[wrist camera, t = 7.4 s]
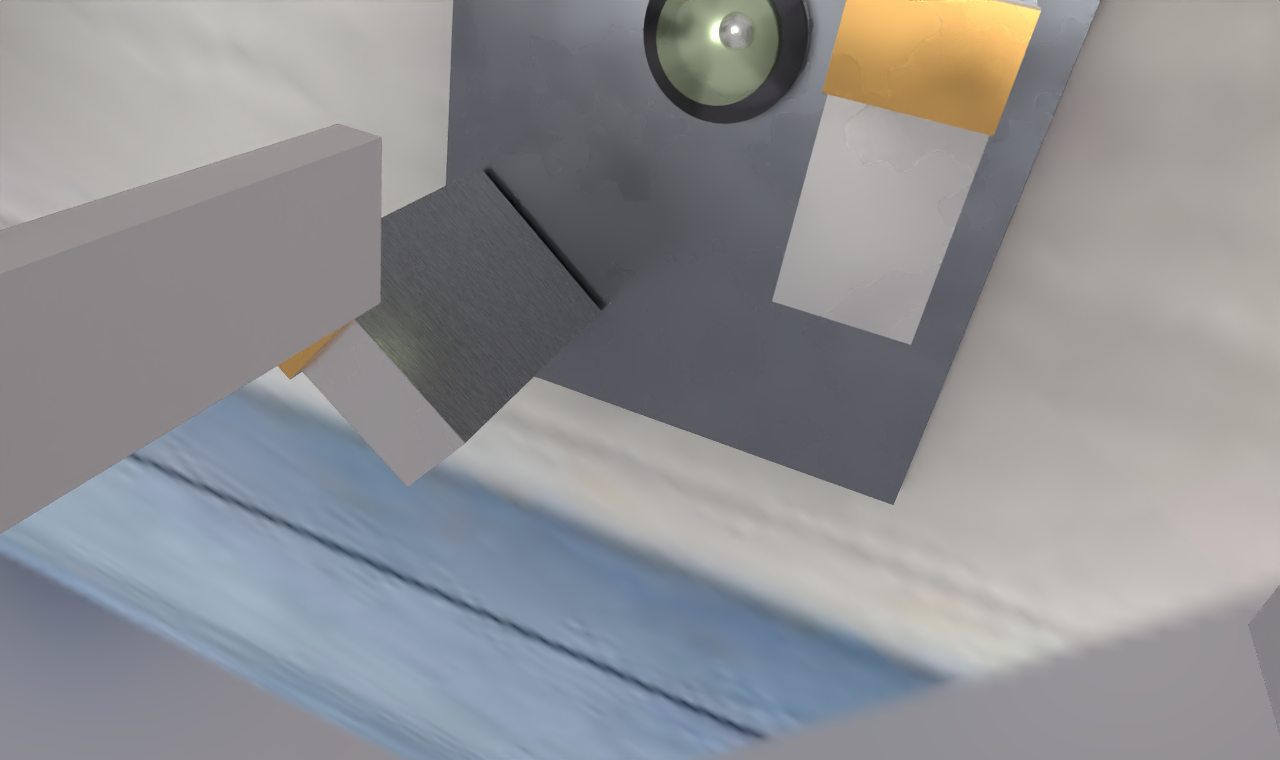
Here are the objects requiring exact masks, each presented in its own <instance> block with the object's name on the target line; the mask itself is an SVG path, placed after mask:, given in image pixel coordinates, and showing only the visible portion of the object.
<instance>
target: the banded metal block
mask: <svg viewBox="0 0 1280 760" xmlns="http://www.w3.org/2000/svg"><path fill="white" fill-rule="evenodd" d="M1040 12H1041V7H1038V4H1037V0H846V3H845V7H844V11H843V15H842V19H841V22H840V26H839V30H838V34H837V37H836V41H835V45H834V49H833V53H832V56H831V60H830V64H829V68H828V71H827V75H826V79H825V83H824V87H823V90H822V93H824V94H828V95H827V99H826V102H825V106H824V110H823V114H822V117H821V121H820V125H819V128H818V132H817V136H816V140H815V143H814V147H813V151H812V155H811V158H810V162H809V166H808V169H807V173H806V177H805V181H804V184H803V188H802V192H801V196H800V199H799V203H798V207H797V210H796V214H795V218H794V222H793V225H792V229H791V233H790V236H789V240H788V244H787V248H786V251H785V255H784V259H783V263H782V266H781V270H780V274H779V277H778V281H777V285H776V289H775V292H774V296H773V300H772V301H773V302H776V303H779V304H782V305H786V306H789V307H792V308H795V309H798V310H802V311H805V312H808V313H811V314H814V315H817V316H821V317H824V318H827V319H830V320H833V321H837V322H840V323H843V324H846V325H849V326H853V327H856V328H859V329H862V330H865V331H868V332H872V333H875V334H878V335H881V336H884V337H888V338H891V339H894V340H897V341H900V342H903V343H907V344H910V345H911V343H912V341H913V338H914V335H915V333H916V330H917V327H918V325H919V322H920V319H921V317H922V314H923V311H924V309H925V306H926V303H927V301H928V298H929V295H930V293H931V290H932V287H933V285H934V282H935V279H936V277H937V274H938V271H939V269H940V266H941V263H942V261H943V258H944V255H945V253H946V250H947V247H948V245H949V242H950V239H951V237H952V234H953V231H954V229H955V226H956V223H957V221H958V218H959V216H960V213H961V210H962V208H963V205H964V202H965V200H966V197H967V194H968V192H969V189H970V186H971V184H972V181H973V178H974V176H975V173H976V170H977V168H978V165H979V162H980V160H981V157H982V154H983V152H984V149H985V146H986V144H987V141H988V138H989V136H990V135H991V136H994V134H995V131H996V128H997V126H998V123H999V120H1000V118H1001V115H1002V113H1003V110H1004V107H1005V105H1006V102H1007V99H1008V97H1009V94H1010V91H1011V89H1012V86H1013V83H1014V81H1015V78H1016V76H1017V73H1018V70H1019V68H1020V65H1021V62H1022V60H1023V57H1024V54H1025V52H1026V49H1027V46H1028V44H1029V41H1030V39H1031V36H1032V33H1033V31H1034V28H1035V25H1036V23H1037V20H1038V17H1039V15H1040Z"/></svg>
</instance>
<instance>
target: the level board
mask: <svg viewBox="0 0 1280 760" xmlns="http://www.w3.org/2000/svg"><path fill="white" fill-rule="evenodd" d="M845 3H846V0H453V24H452V49H451V74H450V100H449V125H448V150H447V176H446V186H447V185H449V184H451V183H453V182H455V181H457V180H459V179H461V178H463V177H465V176H467V175H469V174H471V173H473V172H476V171H478V170H480V169H482V170H483V171H484V173H485V174H486V175H487V176H488V177H489V178H490V180H491V181H492V182H493V183H494V184H495V186H496V187H497V188H498V189H499V190H500V192H501V193H502V194H503V195H504V196H505V197H506V199H507V200H508V201H509V202H510V203H511V205H512V206H513V207H514V208H515V209H516V211H517V212H518V213H519V214H520V215H521V216H522V218H523V219H524V220H525V221H526V222H527V224H528V225H529V226H530V227H531V228H532V230H533V231H534V232H535V233H536V234H537V235H538V237H539V238H540V239H541V240H542V241H543V243H544V244H545V245H546V246H547V247H548V249H549V250H550V251H551V252H552V253H553V254H554V256H555V257H556V258H557V259H558V260H559V262H560V263H561V264H562V265H563V266H564V267H565V269H566V270H567V271H568V272H569V273H570V275H571V276H572V277H573V278H574V279H575V281H576V282H577V283H578V284H579V285H580V286H581V288H582V289H583V290H584V291H585V292H586V294H587V295H588V296H589V297H590V298H591V300H592V301H593V302H594V303H595V304H596V305H597V307H598V308H599V309H600V310H601V312H600V313H599V314H598V315H597V316H596V317H595V318H594V319H593V320H592V321H591V322H590V323H589V324H588V325H587V326H586V327H585V328H584V329H583V330H581V331H580V332H579V333H578V334H577V335H576V336H575V337H574V338H573V339H572V340H571V341H570V342H569V343H568V344H567V345H566V346H565V347H564V348H563V349H562V350H561V351H560V352H559V353H558V354H557V355H556V356H555V357H554V358H553V359H551V360H550V361H549V362H548V363H547V364H546V365H545V366H544V367H543V368H542V369H541V370H540V371H539V372H538V373H537V374H536V375H535V377H538V378H541V379H544V380H547V381H549V382H552V383H555V384H558V385H561V386H563V387H566V388H569V389H572V390H574V391H577V392H580V393H583V394H586V395H588V396H591V397H594V398H597V399H600V400H602V401H605V402H608V403H611V404H613V405H616V406H619V407H622V408H625V409H627V410H630V411H633V412H636V413H639V414H641V415H644V416H647V417H650V418H652V419H655V420H658V421H661V422H664V423H666V424H669V425H672V426H675V427H678V428H680V429H683V430H686V431H689V432H691V433H694V434H697V435H700V436H703V437H705V438H708V439H711V440H714V441H717V442H719V443H722V444H725V445H728V446H730V447H733V448H736V449H739V450H742V451H744V452H747V453H750V454H753V455H756V456H758V457H761V458H764V459H767V460H769V461H772V462H775V463H778V464H781V465H783V466H786V467H789V468H792V469H795V470H797V471H800V472H803V473H806V474H808V475H811V476H814V477H817V478H820V479H822V480H825V481H828V482H831V483H834V484H836V485H839V486H842V487H845V488H847V489H850V490H853V491H856V492H859V493H861V494H864V495H867V496H870V497H873V498H875V499H878V500H881V501H884V502H886V503H889V504H892V505H894V502H895V500H896V497H897V495H898V492H899V490H900V487H901V485H902V483H903V480H904V478H905V475H906V473H907V470H908V468H909V466H910V463H911V461H912V458H913V456H914V453H915V451H916V449H917V446H918V444H919V441H920V439H921V436H922V434H923V431H924V429H925V427H926V424H927V422H928V419H929V417H930V414H931V412H932V410H933V407H934V405H935V402H936V400H937V397H938V395H939V392H940V390H941V388H942V385H943V383H944V380H945V378H946V375H947V373H948V371H949V368H950V366H951V363H952V361H953V358H954V356H955V353H956V351H957V349H958V346H959V344H960V341H961V339H962V336H963V334H964V332H965V329H966V327H967V324H968V322H969V319H970V317H971V314H972V312H973V310H974V307H975V305H976V302H977V300H978V297H979V295H980V293H981V290H982V288H983V285H984V283H985V280H986V278H987V275H988V273H989V271H990V268H991V266H992V263H993V261H994V258H995V256H996V254H997V251H998V249H999V246H1000V244H1001V241H1002V239H1003V236H1004V234H1005V232H1006V229H1007V227H1008V224H1009V222H1010V219H1011V217H1012V215H1013V212H1014V210H1015V207H1016V205H1017V202H1018V200H1019V197H1020V195H1021V193H1022V190H1023V188H1024V185H1025V183H1026V180H1027V178H1028V176H1029V173H1030V171H1031V168H1032V166H1033V163H1034V161H1035V158H1036V156H1037V154H1038V151H1039V149H1040V146H1041V144H1042V141H1043V139H1044V137H1045V134H1046V132H1047V129H1048V127H1049V124H1050V122H1051V119H1052V117H1053V115H1054V112H1055V110H1056V107H1057V105H1058V102H1059V100H1060V98H1061V95H1062V93H1063V90H1064V88H1065V85H1066V83H1067V81H1068V78H1069V76H1070V73H1071V71H1072V68H1073V66H1074V63H1075V61H1076V59H1077V56H1078V54H1079V51H1080V49H1081V46H1082V44H1083V42H1084V39H1085V37H1086V34H1087V32H1088V29H1089V27H1090V24H1091V22H1092V20H1093V17H1094V15H1095V12H1096V10H1097V7H1098V5H1099V3H1100V0H1037V4H1038V7H1041V12H1040V15H1039V17H1038V20H1037V23H1036V25H1035V28H1034V31H1033V33H1032V36H1031V39H1030V41H1029V44H1028V46H1027V49H1026V52H1025V54H1024V57H1023V60H1022V62H1021V65H1020V68H1019V70H1018V73H1017V76H1016V78H1015V81H1014V83H1013V86H1012V89H1011V91H1010V94H1009V97H1008V99H1007V102H1006V105H1005V107H1004V110H1003V113H1002V115H1001V118H1000V120H999V123H998V126H997V128H996V131H995V134H994V136H991V135H990V136H989V138H988V141H987V144H986V146H985V149H984V152H983V154H982V157H981V160H980V162H979V165H978V168H977V170H976V173H975V176H974V178H973V181H972V184H971V186H970V189H969V192H968V194H967V197H966V200H965V202H964V205H963V208H962V210H961V213H960V216H959V218H958V221H957V223H956V226H955V229H954V231H953V234H952V237H951V239H950V242H949V245H948V247H947V250H946V253H945V255H944V258H943V261H942V263H941V266H940V269H939V271H938V274H937V277H936V279H935V282H934V285H933V287H932V290H931V293H930V295H929V298H928V301H927V303H926V306H925V309H924V311H923V314H922V317H921V319H920V322H919V325H918V327H917V330H916V333H915V335H914V338H913V341H912V343H911V345H910V344H907V343H903V342H900V341H897V340H894V339H891V338H888V337H884V336H881V335H878V334H875V333H872V332H868V331H865V330H862V329H859V328H856V327H853V326H849V325H846V324H843V323H840V322H837V321H833V320H830V319H827V318H824V317H821V316H817V315H814V314H811V313H808V312H805V311H802V310H798V309H795V308H792V307H789V306H786V305H782V304H779V303H776V302H773V301H772V300H773V296H774V292H775V289H776V285H777V281H778V277H779V274H780V270H781V266H782V263H783V259H784V255H785V251H786V248H787V244H788V240H789V236H790V233H791V229H792V225H793V222H794V218H795V214H796V210H797V207H798V203H799V199H800V196H801V192H802V188H803V184H804V181H805V177H806V173H807V169H808V166H809V162H810V158H811V155H812V151H813V147H814V143H815V140H816V136H817V132H818V128H819V125H820V121H821V117H822V114H823V110H824V106H825V102H826V99H827V95H828V94H824V93H822V90H823V87H824V83H825V79H826V75H827V71H828V68H829V64H830V60H831V56H832V53H833V49H834V45H835V41H836V37H837V34H838V30H839V26H840V22H841V19H842V15H843V11H844V7H845Z"/></svg>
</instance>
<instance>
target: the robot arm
mask: <svg viewBox="0 0 1280 760" xmlns="http://www.w3.org/2000/svg"><path fill="white" fill-rule="evenodd" d="M381 156H382V138H381V137H378V136H375V135H372V134H369V133H366V132H362V131H359V130H356V129H353V128H350V127H347V126H344V125H340V124H336V125H333V126H330V127H326V128H323V129H320V130H317V131H314V132H311V133H307V134H304V135H301V136H298V137H295V138H292V139H288V140H285V141H282V142H279V143H276V144H273V145H269V146H266V147H263V148H260V149H257V150H254V151H250V152H247V153H244V154H241V155H238V156H235V157H231V158H228V159H225V160H222V161H219V162H216V163H212V164H209V165H206V166H203V167H200V168H197V169H193V170H190V171H187V172H184V173H181V174H178V175H174V176H171V177H168V178H165V179H162V180H159V181H155V182H152V183H149V184H146V185H143V186H140V187H136V188H133V189H130V190H127V191H124V192H121V193H117V194H114V195H111V196H108V197H105V198H102V199H98V200H95V201H92V202H89V203H86V204H83V205H79V206H76V207H73V208H70V209H67V210H64V211H60V212H57V213H54V214H51V215H48V216H45V217H41V218H38V219H35V220H32V221H29V222H26V223H22V224H19V225H16V226H13V227H10V228H7V229H3V230H0V534H1V533H2V532H4V531H6V530H7V529H9V528H11V527H12V526H14V525H16V524H17V523H19V522H21V521H22V520H24V519H26V518H27V517H29V516H30V515H32V514H34V513H35V512H37V511H39V510H40V509H42V508H44V507H45V506H47V505H49V504H50V503H52V502H54V501H55V500H57V499H58V498H60V497H62V496H63V495H65V494H67V493H68V492H70V491H72V490H73V489H75V488H77V487H78V486H80V485H82V484H83V483H85V482H86V481H88V480H90V479H91V478H93V477H95V476H96V475H98V474H100V473H101V472H103V471H105V470H106V469H108V468H110V467H111V466H113V465H114V464H116V463H118V462H119V461H121V460H123V459H124V458H126V457H128V456H129V455H131V454H133V453H134V452H136V451H138V450H139V449H141V448H142V447H144V446H146V445H147V444H149V443H151V442H152V441H154V440H156V439H157V438H159V437H161V436H162V435H164V434H166V433H167V432H169V431H170V430H172V429H174V428H175V427H177V426H179V425H180V424H182V423H184V422H185V421H187V420H189V419H190V418H192V417H194V416H195V415H197V414H198V413H200V412H202V411H203V410H205V409H207V408H208V407H210V406H212V405H213V404H215V403H217V402H218V401H220V400H222V399H223V398H225V397H226V396H228V395H230V394H231V393H233V392H235V391H236V390H238V389H240V388H241V387H243V386H245V385H246V384H248V383H250V382H251V381H253V380H254V379H256V378H258V377H259V376H261V375H263V374H264V373H266V372H268V371H269V370H271V369H273V368H274V367H276V366H278V365H279V364H281V363H282V362H284V361H286V360H287V359H289V358H291V357H292V356H294V355H296V354H297V353H299V352H301V351H302V350H304V349H306V348H307V347H309V346H310V345H312V344H314V343H315V342H317V341H319V340H320V339H322V338H324V337H325V336H327V335H329V334H330V333H332V332H334V331H335V330H337V329H338V328H340V327H342V326H343V325H345V324H347V323H348V322H350V321H352V320H353V319H355V318H357V317H358V316H360V315H362V314H363V313H365V312H366V311H368V310H370V309H371V308H373V307H375V306H376V305H378V304H380V303H381ZM1249 629H1250V632H1251V636H1252V639H1253V643H1254V646H1255V650H1256V653H1257V657H1258V660H1259V664H1260V667H1261V671H1262V674H1263V678H1264V681H1265V685H1266V688H1267V692H1268V695H1269V699H1270V702H1271V706H1272V709H1273V713H1274V716H1275V720H1276V723H1277V727H1278V730H1279V734H1280V585H1279V586H1278V588H1277V589H1276V590H1275V592H1274V593H1273V594H1272V595H1271V597H1270V598H1269V599H1268V600H1267V602H1266V603H1265V604H1264V605H1263V607H1262V608H1261V609H1260V611H1259V612H1258V613H1257V614H1256V616H1255V617H1254V618H1253V620H1252V621H1251V622H1250V623H1249Z"/></svg>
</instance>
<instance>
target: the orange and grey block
mask: <svg viewBox="0 0 1280 760" xmlns="http://www.w3.org/2000/svg"><path fill="white" fill-rule="evenodd" d="M600 312H601V310H600V309H599V308H598V307H597V305H596V304H595V303H594V302H593V301H592V300H591V298H590V297H589V296H588V295H587V294H586V292H585V291H584V290H583V289H582V288H581V286H580V285H579V284H578V283H577V282H576V281H575V279H574V278H573V277H572V276H571V275H570V273H569V272H568V271H567V270H566V269H565V267H564V266H563V265H562V264H561V263H560V262H559V260H558V259H557V258H556V257H555V256H554V254H553V253H552V252H551V251H550V250H549V249H548V247H547V246H546V245H545V244H544V243H543V241H542V240H541V239H540V238H539V237H538V235H537V234H536V233H535V232H534V231H533V230H532V228H531V227H530V226H529V225H528V224H527V222H526V221H525V220H524V219H523V218H522V216H521V215H520V214H519V213H518V212H517V211H516V209H515V208H514V207H513V206H512V205H511V203H510V202H509V201H508V200H507V199H506V197H505V196H504V195H503V194H502V193H501V192H500V190H499V189H498V188H497V187H496V186H495V184H494V183H493V182H492V181H491V180H490V178H489V177H488V176H487V175H486V174H485V173H484V171H483V170H482V169H480V170H478V171H476V172H473V173H471V174H469V175H467V176H465V177H463V178H461V179H459V180H457V181H455V182H453V183H451V184H449V185H447V186H445V187H443V188H441V189H439V190H437V191H435V192H433V193H431V194H429V195H427V196H425V197H423V198H421V199H419V200H417V201H415V202H413V203H411V204H409V205H407V206H405V207H403V208H401V209H399V210H397V211H395V212H393V213H391V214H388V215H386V216H384V217H382V218H381V303H380V304H378V305H376V306H375V307H373V308H371V309H370V310H368V311H366V312H365V313H363V314H362V315H360V316H358V317H357V318H355V319H353V320H352V321H350V322H348V323H347V324H345V325H343V326H342V327H340V328H338V329H337V330H335V331H334V332H332V333H330V334H329V335H327V336H325V337H324V338H322V339H320V340H319V341H317V342H315V343H314V344H312V345H310V346H309V347H307V348H306V349H304V350H302V351H301V352H299V353H297V354H296V355H294V356H292V357H291V358H289V359H287V360H286V361H284V362H282V363H281V364H279V365H278V367H279V368H280V369H281V370H282V371H283V372H284V373H285V375H286V376H287V377H288V378H289V379H292V378H293V377H295V376H296V375H298V374H299V373H301V372H303V373H304V374H305V375H306V376H307V377H308V378H309V380H310V381H311V382H312V383H313V384H314V385H315V386H316V387H317V388H318V389H319V390H320V392H321V393H322V394H323V395H324V396H325V397H326V398H327V399H328V400H329V401H330V403H331V404H332V405H333V406H334V407H335V408H336V409H337V410H338V411H339V412H340V413H341V415H342V416H343V417H344V418H345V419H346V420H347V421H348V422H349V423H350V424H351V426H352V427H353V428H354V429H355V430H356V431H357V432H358V433H359V434H360V435H361V436H362V438H363V439H364V440H365V441H366V442H367V443H368V444H369V445H370V446H371V447H372V449H373V450H374V451H375V452H376V453H377V454H378V455H379V456H380V457H381V458H382V459H383V461H384V462H385V463H386V464H387V465H388V466H389V467H390V468H391V469H392V470H393V472H394V473H395V474H396V475H397V476H398V477H399V478H400V479H401V480H402V481H403V483H404V484H405V485H406V486H407V487H408V486H410V485H411V484H412V483H414V482H415V481H416V480H418V479H419V478H420V477H421V476H423V475H424V474H425V473H427V472H428V471H429V470H431V469H432V468H433V467H434V466H436V465H437V464H438V463H440V462H441V461H442V460H444V459H445V458H446V457H447V456H449V455H450V454H451V453H453V452H454V451H455V450H457V449H458V448H459V447H461V446H462V445H463V444H464V443H466V442H467V441H468V440H469V439H470V438H471V437H472V436H473V435H474V434H475V433H476V432H477V431H478V430H479V429H480V428H481V427H482V426H483V425H484V424H485V423H486V422H487V421H488V420H489V419H490V418H491V417H492V416H494V415H495V414H496V413H497V412H498V411H499V410H500V409H501V408H502V407H503V406H504V405H505V404H506V403H507V402H508V401H509V400H510V399H511V398H512V397H513V396H514V395H515V394H516V393H517V392H518V391H519V390H520V389H521V388H522V387H524V386H525V385H526V384H527V383H528V382H529V381H530V380H531V379H532V378H533V377H534V376H535V375H536V374H537V373H538V372H539V371H540V370H541V369H542V368H543V367H544V366H545V365H546V364H547V363H548V362H549V361H550V360H551V359H553V358H554V357H555V356H556V355H557V354H558V353H559V352H560V351H561V350H562V349H563V348H564V347H565V346H566V345H567V344H568V343H569V342H570V341H571V340H572V339H573V338H574V337H575V336H576V335H577V334H578V333H579V332H580V331H581V330H583V329H584V328H585V327H586V326H587V325H588V324H589V323H590V322H591V321H592V320H593V319H594V318H595V317H596V316H597V315H598V314H599V313H600Z"/></svg>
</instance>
